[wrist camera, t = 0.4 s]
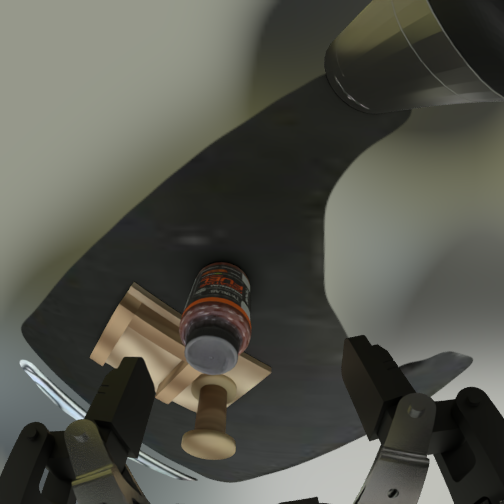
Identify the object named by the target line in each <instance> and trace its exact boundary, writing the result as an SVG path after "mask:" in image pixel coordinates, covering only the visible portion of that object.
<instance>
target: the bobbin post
mask: <svg viewBox="0 0 504 504" xmlns="http://www.w3.org/2000/svg"><path fill="white" fill-rule="evenodd" d="M236 392H237V387H236V384H235V382H234V381H233V380H232V379H231V378H229V377H228V376H225V375H223V374H220V375H208V374H204V373H203V374H200V375H199V376H198V377H197V378H196V379H195V380H194V381H193V382H192V386H191V393H192V395H193V396H194V398H195V399H197V400H198V408H197V415H196V422H195V429H194V430H192V431H188V432H186V433H185V434H184V435H183V438H182V448H183V449H184V450H185V451H186V452H187V453H189V454H191V455H193V456H195V457H199V458H203V459H210V460H218V459H225V458H228V457H231V456H232V455H233V454H234V453H235V450H236V443H235V440H234V439H233V438H232V437H231V436H229V435H227V434H225V429H226V409H227V404H229V403H231V402H232V401H233V400H234V399H235V398H236Z"/></svg>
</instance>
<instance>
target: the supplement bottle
mask: <svg viewBox="0 0 504 504" xmlns="http://www.w3.org/2000/svg"><path fill="white" fill-rule="evenodd" d="M179 333H180V337H181V340H182V342H183V344H184V346H185V351H184V354H185V358H186V360H187V362H188V363H189V364H190V366H191V367H193V368H194V369H195V370H197V371H199V372H201V373H204V374H208V375H220V374H224V373H227V372H228V371H230V370H232V369H233V368H234V367H235V365H236V364H237V361H238V356H239V355H240V354H241V353H242V352H243V351H244V350H245V349H246V348H247V346H248V344H249V341H250V338H251V290H250V283H249V280H248V278H247V276H246V275H245V273H244V272H243V271H242V270H241V269H240V268H238V267H237V266H235V265H232V264H230V263H224V262H219V263H213V264H210V265H208V266H206V267H205V268H203V269H202V270H201V271H200V272H199V274H198V275H197V277H196V279H195V282H194V284H193V287H192V290H191V292H190V295H189V298H188V301H187V303H186V306H185V309H184V312H183V315H182V318H181V321H180V326H179Z"/></svg>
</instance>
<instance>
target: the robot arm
mask: <svg viewBox="0 0 504 504" xmlns="http://www.w3.org/2000/svg"><path fill="white" fill-rule="evenodd" d="M324 67H325V72H326V76H327V78H328V81H329V83H330V85H331V86H332V88H333V90H334V91H335V93H336V94H337V95H338V96H339V97H340V98H341V99H342V100H343V101H344V102H346V103H347V104H348V105H350V106H351V107H353V108H355V109H357V110H359V111H362V112H365V113H371V114H380V113H387V112H393V111H400V110H407V109H414V108H421V107H429V106H438V105H446V104H459V103H473V102H489V101H504V0H373V1H372V2H371V3H370V4H369V5H367V7H365V8H364V10H363V11H362V12H360V13H359V15H358V16H357V17H356V18H355V19H354V20H353V21H352V22H351V23H350V24H349V25H348V26H347V27H346V28H345V29H344V30H343V31H342V32H341V33H340V34H339V35H338V36H337V37H336V38H335V40H334V41H333V42H332V43H331V44H330V46H329V47H328V49H327V51H326V55H325V62H324ZM342 377H343V381H344V383H345V386H346V388H347V390H348V392H349V395H350V397H351V399H352V402H353V404H354V406H355V409H356V411H357V413H358V416H359V418H360V420H361V423H362V425H363V427H364V430H365V432H366V434H367V437H368V439H369V441H372V440H375V439H379V440H380V442H381V446H380V448H379V451H378V453H377V456H376V458H375V461H374V463H373V465H372V467H371V469H370V472H369V474H368V476H367V478H366V480H365V482H364V484H363V486H362V488H361V490H360V492H359V494H358V495H357V497H356V499H355V501H354V503H353V504H417V502H418V499H419V497H420V493H421V491H422V488H423V484H424V481H425V478H426V474H427V471H428V467H429V459H428V458H427V455H430V454H433V455H434V457H435V459H436V462H437V464H438V466H439V468H440V471H441V473H442V475H443V477H444V480H445V482H446V485H447V487H448V489H449V492H450V494H451V496H452V499H453V501H454V504H504V418H503V417H502V415H501V414H500V412H499V411H498V410H497V408H496V407H495V405H494V404H493V403H492V401H491V400H490V398H489V397H488V396H487V394H486V393H485V392H484V391H483V390H481V389H479V388H476V387H467V388H464V389H462V390H461V391H460V392H459V393H458V395H457V397H456V399H453V400H446V401H433V399H432V398H430V397H429V396H427V395H425V394H422V393H416V392H415V390H414V389H413V387H412V386H411V384H410V383H409V381H408V380H407V378H406V377H405V375H404V374H403V373H402V371H401V370H400V368H398V365H397V364H396V362H395V361H393V358H392V357H391V355H390V354H389V352H388V351H387V350H385V349H384V348H382V347H380V346H379V345H373V346H372V345H371V344H370V343H369V341H368V339H367V338H366V336H365V335H360V336H355V337H350V338H346V339H345V341H344V350H343V359H342ZM154 398H155V387H154V383H153V381H152V378H151V376H150V373H149V371H148V368H147V366H146V363H145V361H144V359H143V358H142V357H124V358H123V359H122V361H121V363H120V365H119V367H118V368H114V369H113V370H112V371H110V372H109V373H108V374H107V375H106V376H105V378H104V380H103V382H102V384H101V386H100V388H99V390H98V394H96V396H95V398H94V400H93V402H92V404H91V406H90V408H89V410H88V412H87V414H86V416H85V418H84V419H80V420H76V421H74V422H72V423H71V424H70V425H69V426H68V427H67V428H66V430H65V431H54V432H53V431H52V432H49V430H47V428H46V427H45V426H44V425H43V424H42V423H39V422H33V423H30V424H28V425H26V426H25V427H24V428H23V430H22V431H21V433H20V435H19V437H18V439H17V441H16V443H15V445H14V447H13V449H12V452H11V453H10V456H9V458H8V460H7V462H6V464H5V467H4V469H3V471H2V474H1V476H0V504H75V503H76V500H77V501H78V504H150V502H149V501H148V500H147V499H146V497H145V495H144V494H143V492H142V491H141V489H140V487H139V486H138V484H137V482H136V481H135V479H134V477H133V475H132V474H131V472H130V470H129V468H128V466H127V465H126V459H127V457H130V458H137V459H138V455H139V451H140V447H141V444H142V440H143V436H144V433H145V429H146V426H147V422H148V419H149V415H150V412H151V408H152V405H153V402H154ZM45 468H46V469H47V470H49V473H48V476H47V478H46V481H45V484H44V487H43V490H42V493H40V491H39V483H40V480H41V477H42V475H43V472H44V469H45ZM279 504H327V503H319V501H318V497H314V498H308V499H302V500H296V501H289V502H282V503H279Z"/></svg>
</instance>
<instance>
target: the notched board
mask: <svg viewBox="0 0 504 504" xmlns="http://www.w3.org/2000/svg"><path fill="white" fill-rule="evenodd" d="M181 318H182V314H180V313H178V312H177V311H175V310H174V309H172V308H171V307H169V306H168V305H166V304H165V303H164V302H162V301H161V300H159V299H158V298H156V297H155V296H153V295H152V294H150V293H149V292H148V291H146V290H145V289H143V288H142V287H141V286H139V285H138V284H136V283H135V282H134V283H133V284H132V286H131V287H130V289H129V290H128V292H127V294H126V295H125V296H124V298H123V299H122V301H121V302H120V303H119V305H118V307H117V309H116V310H115V312H114V314H113V316H112V317H111V319H110V321H109V323H108V324H107V326H106V328H105V330H104V332H103V333H102V335H101V337H100V339H99V341H98V343H97V345H96V347H95V348H94V350H93V352H92V354H91V356H90V358H91V359H93V360H94V361H96V362H97V363H99V364H100V365H102V366H103V365H104V363H105V362H106V363H108V364H109V365H111V366H113V367H114V368H118V367H119V365H120V363H121V361H122V359H123V358H124V357H142V358H143V359H144V361H145V363H146V366H147V368H148V371H149V373H150V376H151V378H152V381H153V383H154V387H155V392H156V395H155V398H157V399H159V400H161V401H162V402H164V403H166V404H169V403H170V402H171V401H173V402H175V403H177V404H179V405H181V406H184V407H186V408H188V409H190V410H192V411H194V412H196V413H197V408H198V400H197V399H195V398H194V396H193V395H192V393H191V386H192V382H193V381H194V380H195V379H196V378H197V377H198V376H199V375H200V374H203V373H201V372H199V371H197V370H195V369H194V368H193V367H191V366H190V364H189V363H188V362H187V360H186V358H185V354H184V351H185V346H184V344H183V342H182V340H181V337H180V333H179V326H180V321H181ZM270 373H271V367H269V366H267V365H266V364H264V363H262V362H260V361H258V360H256V359H255V358H253V357H251V356H249V355H247V354H246V353H244V352H242V353H241V354H240V355H239V356H238V361H237V364H236V365H235V367H234V368H233V369H232V370H230V371H228V372H227V373H224V374H223V375H225V376H228V377H229V378H231V379H232V380H233V381H234V382H235V384H236V387H237V392H236V398H235V399H234V400H233V401H232V402H231V403H229V404H227V407H228V406H229V405H231V404H232V403H233V402H235V401H236V400H237V399H239V398H240V397H241V396H243V395H244V394H245V393H246V392H248V391H249V390H250V389H252V388H253V387H254V386H255V385H257V384H258V383H259V382H260V381H262V380H263V379H264V378H265V377H267V376H268V375H269V374H270Z"/></svg>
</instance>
